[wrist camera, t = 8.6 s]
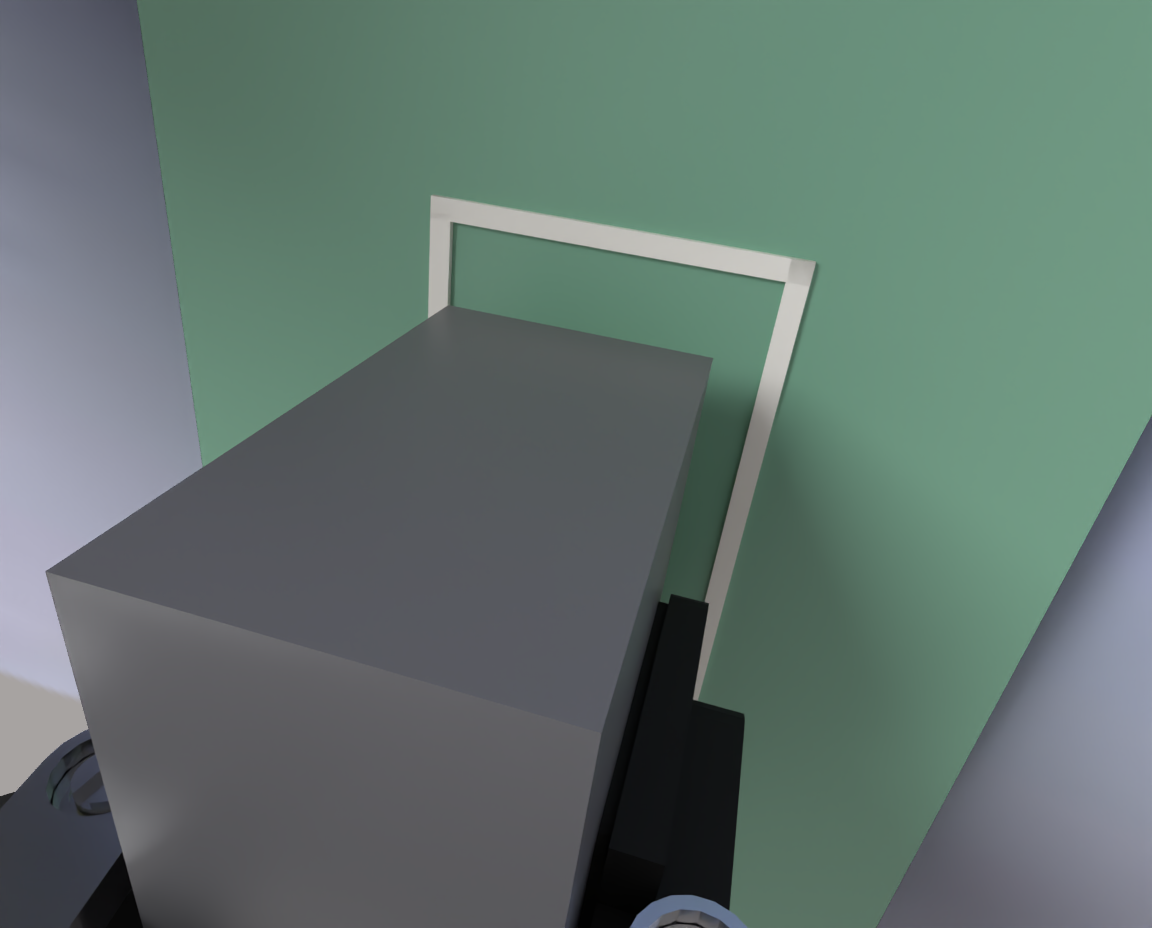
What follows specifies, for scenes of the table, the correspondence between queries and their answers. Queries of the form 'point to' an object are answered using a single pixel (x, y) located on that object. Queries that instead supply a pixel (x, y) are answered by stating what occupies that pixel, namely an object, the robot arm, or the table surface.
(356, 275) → the header board
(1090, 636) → the table surface
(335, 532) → the block
